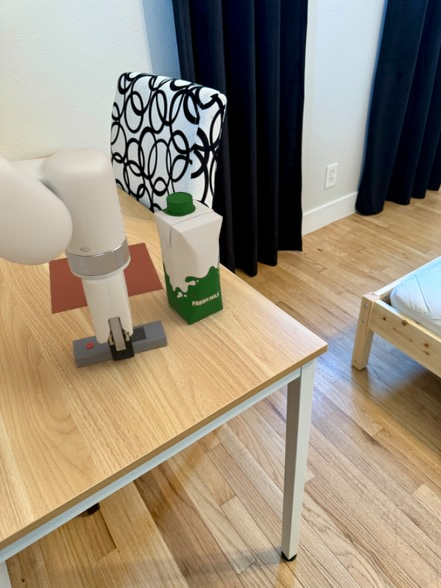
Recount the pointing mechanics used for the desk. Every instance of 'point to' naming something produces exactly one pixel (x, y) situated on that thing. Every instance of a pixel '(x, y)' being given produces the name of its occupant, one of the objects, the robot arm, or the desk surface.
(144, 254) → the mat
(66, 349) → the desk surface
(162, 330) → the remote
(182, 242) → the milk carton
